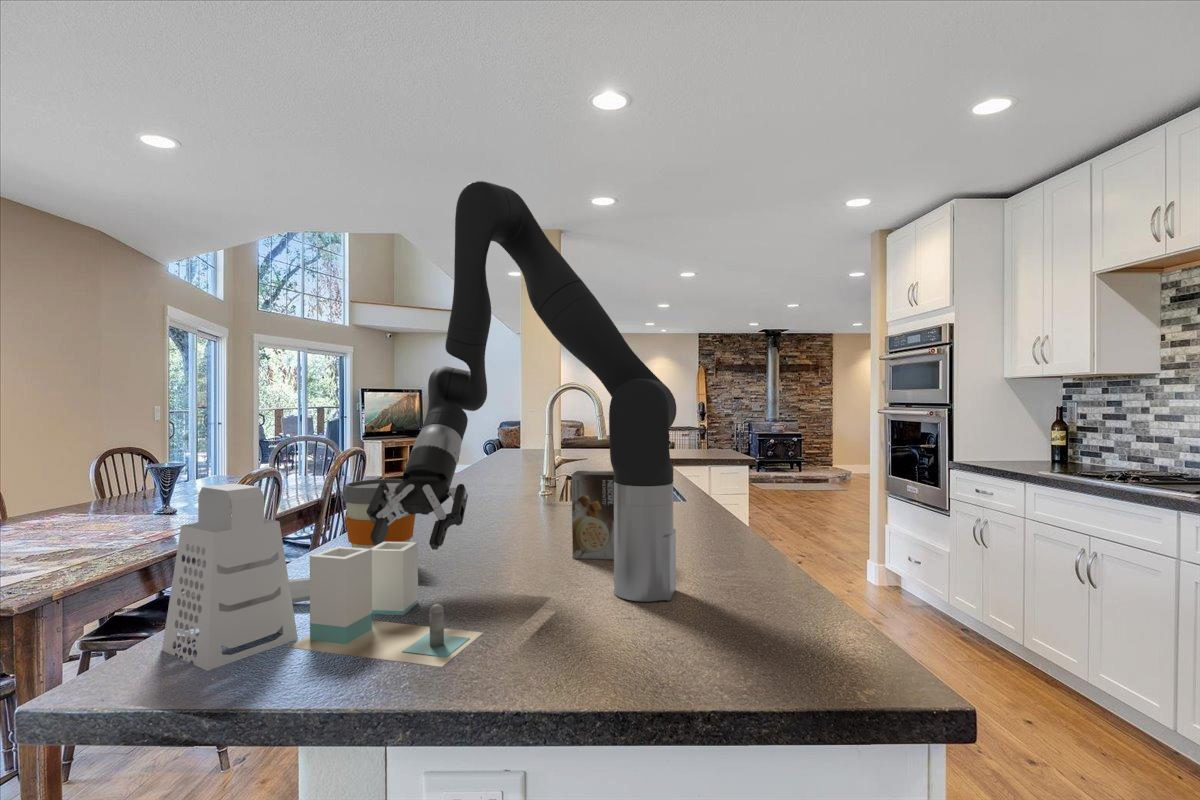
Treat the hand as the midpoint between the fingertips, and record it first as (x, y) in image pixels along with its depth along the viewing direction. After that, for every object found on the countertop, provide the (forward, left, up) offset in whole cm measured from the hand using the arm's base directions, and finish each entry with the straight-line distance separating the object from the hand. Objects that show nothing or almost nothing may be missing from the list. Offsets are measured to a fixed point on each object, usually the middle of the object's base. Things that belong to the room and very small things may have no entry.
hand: (404, 545), depth 89 cm
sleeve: (-1, +4, -9) cm, 10 cm away
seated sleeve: (0, +14, -8) cm, 16 cm away
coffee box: (-19, -36, -9) cm, 42 cm away
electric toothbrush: (+16, +7, -9) cm, 20 cm away
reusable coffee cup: (+17, -19, -9) cm, 27 cm away
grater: (+10, +20, -9) cm, 24 cm away
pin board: (-7, +14, -9) cm, 18 cm away
